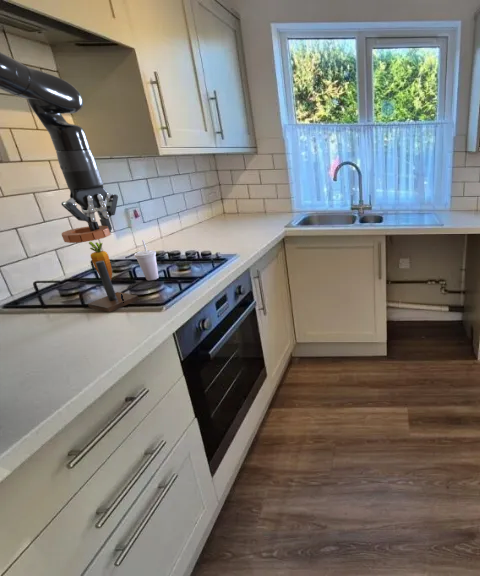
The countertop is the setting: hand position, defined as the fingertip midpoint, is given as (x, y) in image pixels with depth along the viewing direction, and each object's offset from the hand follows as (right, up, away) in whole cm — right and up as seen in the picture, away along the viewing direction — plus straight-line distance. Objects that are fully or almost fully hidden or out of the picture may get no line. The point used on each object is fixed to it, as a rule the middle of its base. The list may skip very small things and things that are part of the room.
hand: (102, 233), depth 101 cm
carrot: (-17, -14, +24) cm, 33 cm away
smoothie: (-4, -12, +27) cm, 30 cm away
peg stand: (-3, -20, +8) cm, 22 cm away
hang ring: (-1, -2, -3) cm, 4 cm away
